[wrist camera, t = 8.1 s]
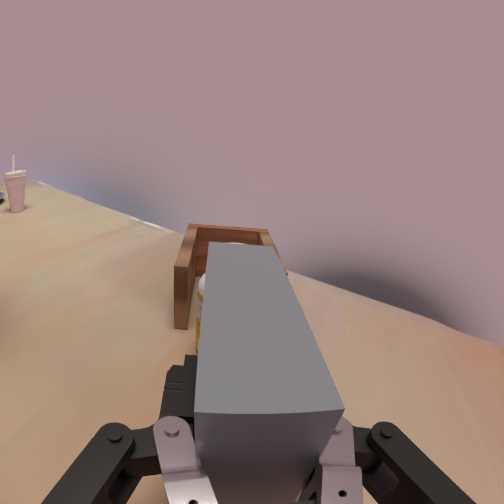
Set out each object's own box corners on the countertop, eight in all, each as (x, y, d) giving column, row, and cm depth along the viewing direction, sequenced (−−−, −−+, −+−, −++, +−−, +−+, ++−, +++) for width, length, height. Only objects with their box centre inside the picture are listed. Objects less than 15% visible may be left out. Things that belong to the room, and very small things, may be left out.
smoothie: (6, 210, 58) (4, 155, 54) (28, 206, 63) (26, 152, 58) (6, 215, 54) (3, 156, 49) (29, 211, 59) (27, 153, 54)
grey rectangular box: (279, 522, 11) (345, 408, 7) (199, 524, 10) (194, 411, 7) (254, 367, 23) (273, 246, 19) (202, 365, 22) (209, 241, 19)
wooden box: (276, 333, 30) (287, 273, 27) (174, 328, 28) (174, 266, 26) (261, 275, 42) (267, 229, 39) (187, 270, 40) (189, 223, 38)
